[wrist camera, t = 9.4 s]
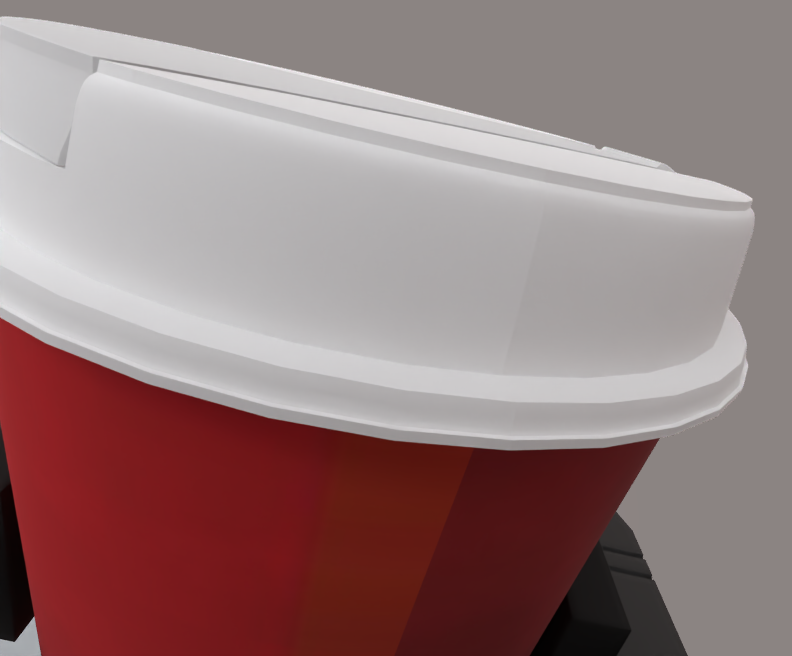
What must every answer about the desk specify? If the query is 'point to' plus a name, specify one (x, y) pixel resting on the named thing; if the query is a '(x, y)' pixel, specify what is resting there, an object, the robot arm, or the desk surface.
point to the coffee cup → (328, 352)
